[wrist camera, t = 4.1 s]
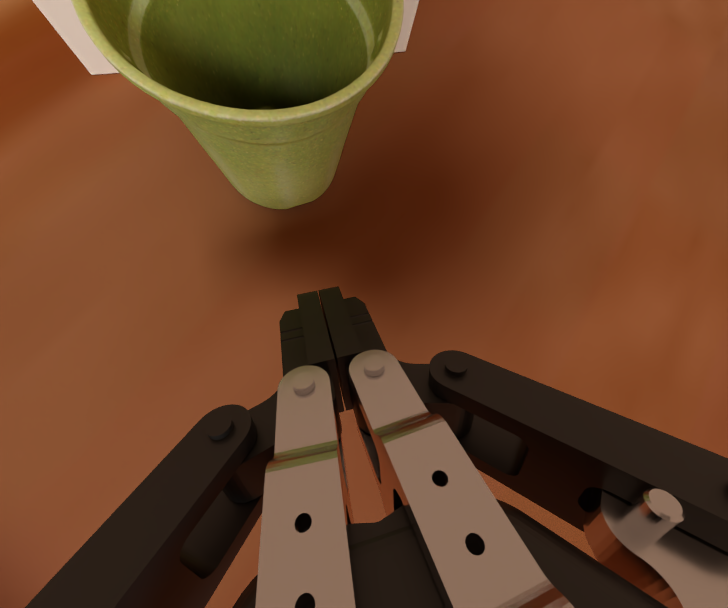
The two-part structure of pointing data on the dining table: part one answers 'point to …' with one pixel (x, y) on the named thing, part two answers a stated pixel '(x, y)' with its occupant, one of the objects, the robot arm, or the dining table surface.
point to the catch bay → (66, 22)
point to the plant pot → (254, 78)
